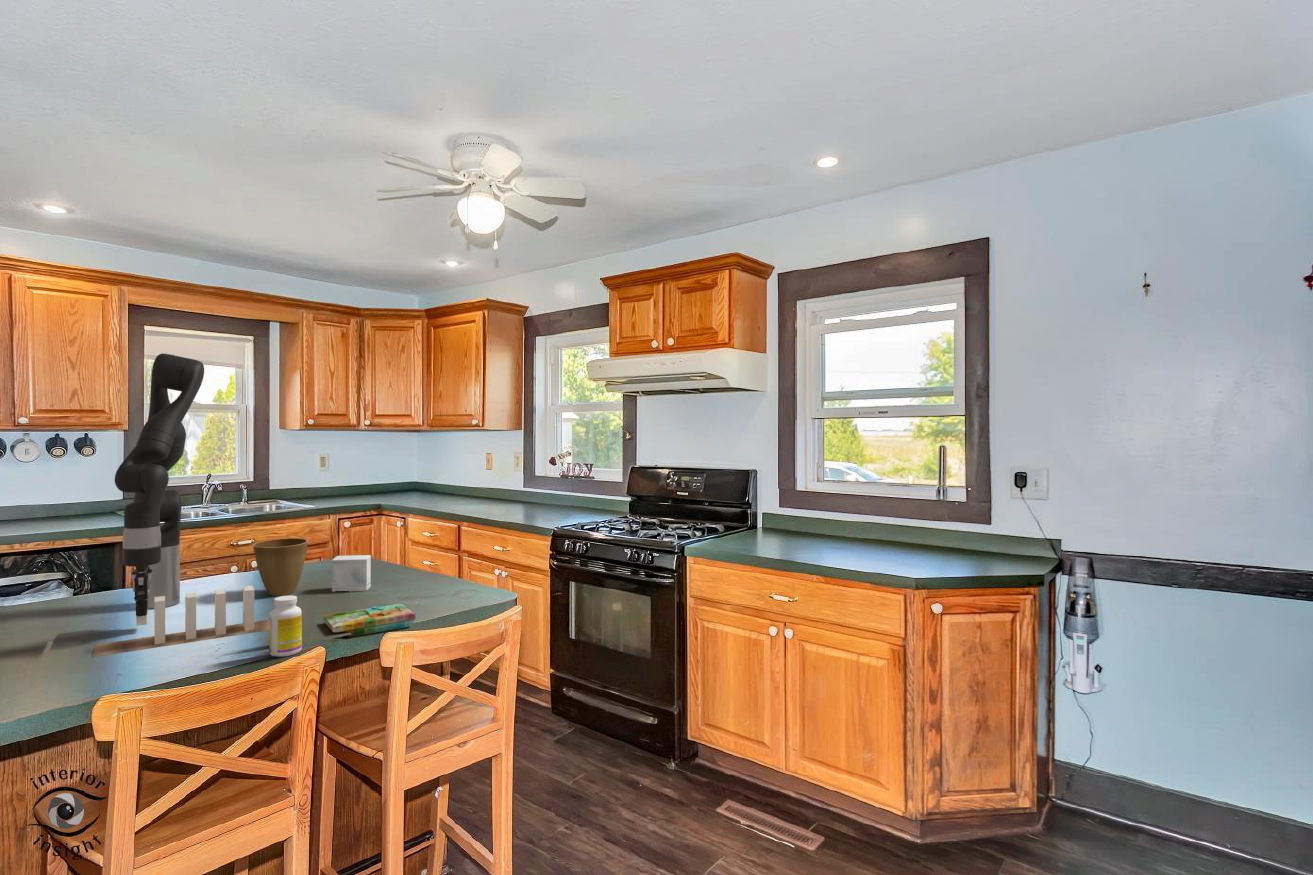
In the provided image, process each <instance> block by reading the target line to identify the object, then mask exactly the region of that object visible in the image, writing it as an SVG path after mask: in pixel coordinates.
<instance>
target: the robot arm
mask: <svg viewBox="0 0 1313 875" xmlns="http://www.w3.org/2000/svg"><path fill="white" fill-rule="evenodd" d="M204 375H205V366H204V363H203V362H202V361H200V360H197V359H193V358H189V357H184V356H179V355H175V354H170V353H159V354H158V355H157V356H156V357H155V359H154V361H153V364H152V369H151V378H150V396H149V398H150V399H149V410H148V416H147V421H145V424H143V427H142V429H141V432H140V434H139V436H138V440H137V442H136V445H135V447H134V448H133V449H132V450H131V451H130V453H129V454H127V455H126V457H125V459H123V461H122V462H121V464H120V465H119V466H118V467H117V470H116V472H115V474H114V484H115V487H116V488H117V489H118V491H120V492H122V493H127V494H129V493H131V494H132V493H133V494H134V498H133V502H130V503H128V504H126V505H125V507H124V510H123V516H124V517H123V533H122V565H124V567H125V566H126V567H134V568H135V570H132V571H131V580H132V592H133V593H134V597H133V600H134V602H135V617H136V616H145V615H147V616H148V609H154V599H155V597H161V596H165V608H168V607H171V606H172V607H173V606H175V605H177V604H180V603H181V600H180V599H181V589H180V588H181V581H180V580H181V565H180V564H181V562H180V560H181V553H180V551H181V547H180V546H181V545H180V544H181V543H180V540H181V537H180V536H181V520H182V518H181V517H182V498H181V497H182V496H181V494H180V492H179V491H178V490H176V489H167V488H168V484H169V481H170V475H169V473H168V472H169V471H170V470H171V469H172V468H173V467H174V466H175V465H176V464H177V463H178V462H179V461H180V459H181V458H182V457H183V454H184V451H185V445H186V441H187V440H186V439H187V433H186V432H187V431H186V429H185V427H184V425H183V423H182V422H183V420H184V418H185V417H186V415H187V413H188V411H189V410H190V408H191V406H192V404H193V401H194V400H195V398H196V396H197V395H198V394H199V393H198V392H199V390H200V388H201V386H202V383H203V379H204ZM168 390H172V391H176V392H177V391H178V392H180V393H179V395H178V396H177V398H175V400H174V401H172V402H171V401H170V398H169V392H168ZM161 523H163V525H162V526H160V525H161ZM140 591H145V594H144V595H138V592H140Z"/></svg>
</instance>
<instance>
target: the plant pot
mask: <svg viewBox="0 0 1313 875" xmlns="http://www.w3.org/2000/svg"><path fill="white" fill-rule="evenodd" d="M308 544H309V540H308V539H306V538H301V537H299V538H298V537H287V538H275V539H267V540H263V541H258V542H255V543H253V544H252V547H253V552H254V557H255V562H256V567H257V569H258V573H259V576H260V578H261V580H262V583H263V587H264V588H265V591H266V594H267V595H269V596H271V597H281V596H289V595H292V594H294V593H295V592H296V590H297V588H298V585H299V583H300V579H301V577H302V574H303V570H304V567H305V562H306V561H305V560H306V556H307V551H308Z"/></svg>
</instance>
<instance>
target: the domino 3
mask: <svg viewBox="0 0 1313 875" xmlns="http://www.w3.org/2000/svg"><path fill="white" fill-rule="evenodd" d="M184 594H185V595H184V596H185V598H184V599H185V600H184V603H185V605H184V606H185V607H184V608H185V611H184V612H185V614H184V615H185V619H184V621H185V622H184V624H185V630H184V632H185V635H186V640H188V639H195V638H196V630H197V593H196V592H188V593H184Z"/></svg>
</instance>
